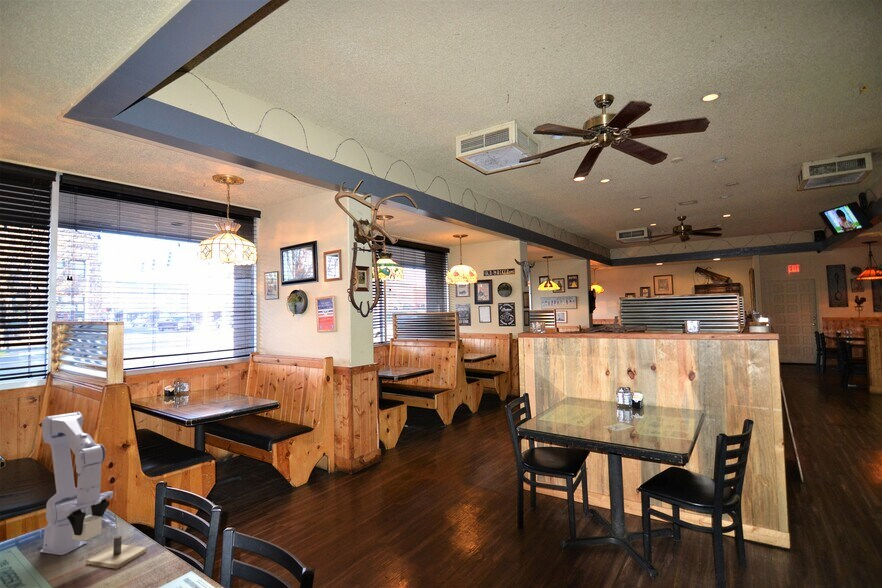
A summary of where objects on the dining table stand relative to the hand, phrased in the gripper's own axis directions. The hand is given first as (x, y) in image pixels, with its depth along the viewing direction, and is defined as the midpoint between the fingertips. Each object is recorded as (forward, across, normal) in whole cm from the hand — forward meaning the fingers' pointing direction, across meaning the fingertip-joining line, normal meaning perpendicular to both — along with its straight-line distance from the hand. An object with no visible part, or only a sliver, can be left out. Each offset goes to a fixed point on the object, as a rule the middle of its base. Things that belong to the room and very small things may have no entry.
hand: (87, 530), depth 135 cm
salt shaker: (+10, +17, +22) cm, 30 cm away
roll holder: (+10, +5, -6) cm, 13 cm away
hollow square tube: (+2, 0, 0) cm, 2 cm away
